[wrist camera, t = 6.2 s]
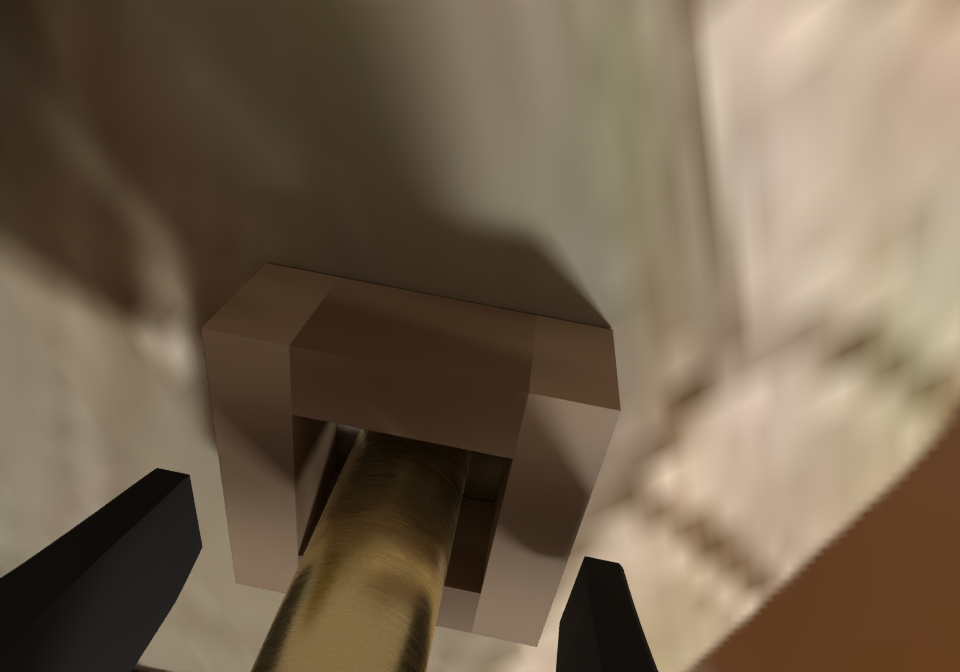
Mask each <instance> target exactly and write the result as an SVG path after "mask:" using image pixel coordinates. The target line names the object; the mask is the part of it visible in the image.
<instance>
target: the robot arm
mask: <svg viewBox="0 0 960 672" xmlns="http://www.w3.org/2000/svg"><path fill="white" fill-rule="evenodd" d="M201 549H202V542H201V537H200V531H199V525H198V520H197V514H196V508H195V503H194V497H193V491H192V486H191V480H190V475H188V474H184V473H179V472H174V471H169V470H164V469H159V468H156V469H155V470H153V471H152V472H150V473H149V474H148V475H146V476H145V477H143V478H142V479H141V480H139V481H138V482H136V483H135V484H134V485H132V486H131V487H129V488H128V489H127V490H125V491H124V492H123V493H121V494H120V495H118V496H117V497H116V498H114V499H113V500H112V501H110V502H109V503H108V504H106V505H105V506H103V507H102V508H101V509H99V510H98V511H96V512H95V513H94V514H92V515H91V516H90V517H88V518H87V519H85V520H84V521H83V522H81V523H80V524H78V525H77V526H76V527H74V528H73V529H71V530H70V531H69V532H67V533H66V534H64V535H63V536H61V537H60V538H59V539H57V540H56V541H54V542H53V543H51V544H50V545H49V546H47V547H46V548H44V549H43V550H41V551H40V552H39V553H37V554H36V555H34V556H33V557H31V558H30V559H28V560H27V561H26V562H24V563H23V564H21V565H20V566H18V567H17V568H15V569H14V570H12V571H11V572H9V573H8V574H6V575H5V576H3V577H1V578H0V672H131V671H132V670H133V668H134V666H135V665H136V663H137V662H138V660H139V659H140V657H141V656H142V654H143V652H144V651H145V649H146V648H147V646H148V645H149V643H150V642H151V640H152V638H153V637H154V635H155V634H156V632H157V631H158V629H159V627H160V626H161V624H162V623H163V621H164V620H165V618H166V616H167V615H168V613H169V612H170V610H171V608H172V607H173V605H174V603H175V602H176V600H177V598H178V596H179V594H180V592H181V590H182V588H183V586H184V584H185V582H186V580H187V578H188V576H189V574H190V572H191V570H192V568H193V566H194V564H195V562H196V559H197V557H198V555H199V553H200V551H201ZM556 672H658V670H657V667H656V665H655V662H654V659H653V657H652V654H651V651H650V649H649V646H648V643H647V640H646V638H645V635H644V632H643V629H642V626H641V624H640V621H639V618H638V615H637V612H636V609H635V606H634V603H633V599H632V596H631V593H630V590H629V587H628V583H627V580H626V576H625V573H624V569H623V568H622V566H621V565H620V564H619V563H615V562H610V561H605V560H600V559H596V558H591V557H586V556H585V557H584V560H583V562H582V565H581V567H580V570H579V573H578V575H577V578H576V581H575V583H574V586H573V589H572V591H571V594H570V597H569V599H568V602H567V604H566V607H565V610H564V612H563V615H562V618H561V620H560V625H559V638H558V650H557V664H556Z"/></svg>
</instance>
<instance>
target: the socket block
mask: <svg viewBox="0 0 960 672" xmlns="http://www.w3.org/2000/svg"><path fill="white" fill-rule="evenodd" d="M201 332H202V339H203V347H204V354H205V361H206V369H207V376H208V383H209V391H210V398H211V405H212V413H213V420H214V427H215V435H216V442H217V449H218V457H219V464H220V471H221V479H222V486H223V493H224V501H225V508H226V515H227V523H228V530H229V537H230V545H231V552H232V560H233V567H234V574H235V582H236V583H238V584H243V585H248V586H252V587H257V588H262V589H266V590H271V591H276V592H281V593H285V594H286V592H287V590H288V588H289V586H290V583H291V581H292V579H293V577H294V575H295V572H296V570H297V568H298V566H299V564H300V561H301V559H302V557H303V555H304V552H305V550H306V548H307V546H308V544H309V541H310V539H311V537H312V535H313V533H314V530H315V528H316V526H317V524H318V522H319V519H320V517H321V515H322V513H323V511H324V508H325V506H326V504H327V502H328V500H329V497H330V495H331V493H332V491H333V489H334V486H335V484H336V482H337V480H338V478H339V475H340V473H341V472H338V471H337V424H341V425H346V426H351V427H356V428H361V429H366V430H371V431H376V432H381V433H386V434H391V435H396V436H401V437H406V438H411V439H416V440H421V441H426V442H431V443H436V444H441V445H446V446H451V447H456V448H461V449H466V450H471V451H476V452H480V453H485V454H490V455H495V456H500V457H505V458H504V463H503V467H502V472H501V476H500V480H499V485H498V489H497V493H496V498H495V502H494V503H489V502H484V501H480V500H475V499H470V498H465V497H462V502H461V507H460V511H459V516H458V521H457V526H456V531H455V536H454V540H453V545H452V550H451V555H450V560H449V564H448V569H447V574H446V579H445V584H444V589H443V593H442V598H441V603H440V608H439V613H438V617H437V622H436V626H441V627H445V628H450V629H455V630H460V631H464V632H469V633H474V634H478V635H483V636H488V637H493V638H497V639H502V640H507V641H511V642H516V643H521V644H525V645H530V646H535V647H537V645H538V642H539V639H540V637H541V634H542V631H543V628H544V625H545V623H546V620H547V617H548V614H549V611H550V609H551V606H552V603H553V600H554V597H555V594H556V592H557V589H558V586H559V583H560V580H561V578H562V575H563V572H564V569H565V566H566V563H567V561H568V558H569V555H570V552H571V549H572V547H573V544H574V541H575V538H576V535H577V533H578V530H579V527H580V524H581V521H582V518H583V516H584V513H585V510H586V507H587V504H588V502H589V499H590V496H591V493H592V490H593V487H594V485H595V482H596V479H597V476H598V473H599V471H600V468H601V465H602V462H603V459H604V457H605V454H606V451H607V448H608V445H609V442H610V440H611V437H612V434H613V431H614V428H615V426H616V423H617V420H618V417H619V414H620V411H621V409H620V399H619V389H618V379H617V369H616V359H615V349H614V339H613V330H611V329H606V328H601V327H595V326H590V325H585V324H580V323H575V322H569V321H564V320H559V319H554V318H549V317H543V316H538V315H533V314H528V313H523V312H517V311H512V310H507V309H502V308H497V307H491V306H486V305H481V304H476V303H471V302H465V301H460V300H455V299H450V298H445V297H440V296H434V295H429V294H424V293H419V292H414V291H408V290H403V289H398V288H393V287H388V286H382V285H377V284H372V283H367V282H362V281H356V280H351V279H346V278H341V277H336V276H330V275H325V274H320V273H315V272H310V271H304V270H299V269H294V268H289V267H284V266H278V265H273V264H268V263H266V264H265V265H264V266H263V267H262V268H261V269H260V270H259V271H258V272H257V273H256V274H255V275H254V276H253V277H252V278H251V279H250V280H249V281H248V282H247V283H246V284H245V285H244V286H243V287H242V288H241V289H240V290H239V291H238V292H237V293H236V294H235V295H234V296H233V297H232V298H231V299H230V300H229V301H228V302H227V303H226V304H225V305H224V306H223V307H222V308H221V309H220V310H219V311H218V312H217V313H216V314H215V315H214V316H213V317H212V318H211V319H210V320H209V321H208V322H207V323H206V324H205V325H204V326H203V327H202V328H201Z"/></svg>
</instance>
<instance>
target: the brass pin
mask: <svg viewBox="0 0 960 672" xmlns="http://www.w3.org/2000/svg"><path fill="white" fill-rule="evenodd" d="M471 454H472V451H471V450H466V449H461V448H456V447H451V446H446V445H441V444H436V443H431V442H426V441H421V440H416V439H411V438H406V437H401V436H396V435H391V434H386V433H381V432H376V431H371V430H366V429H360V431H359V433H358V436H357V438H356V440H355V442H354V444H353V447H352V449H351V451H350V453H349V455H348V458H347V460H346V462H345V464H344V467H343V469H342V471H341V473H340V475H339V478H338V480H337V482H336V484H335V486H334V489H333V491H332V493H331V495H330V497H329V500H328V502H327V504H326V506H325V508H324V511H323V513H322V515H321V517H320V519H319V522H318V524H317V526H316V528H315V530H314V533H313V535H312V537H311V539H310V541H309V544H308V546H307V548H306V550H305V552H304V555H303V557H302V559H301V561H300V564H299V566H298V568H297V570H296V572H295V575H294V577H293V579H292V581H291V583H290V586H289V588H288V590H287V592H286V594H285V597H284V599H283V601H282V603H281V605H280V608H279V610H278V612H277V614H276V616H275V619H274V621H273V623H272V625H271V627H270V630H269V632H268V634H267V636H266V638H265V641H264V643H263V645H262V647H261V649H260V652H259V654H258V656H257V658H256V661H255V663H254V665H253V667H252V669H251V672H426V671H427V666H428V661H429V656H430V651H431V646H432V642H433V637H434V632H435V627H436V622H437V617H438V613H439V608H440V603H441V598H442V593H443V589H444V584H445V579H446V574H447V569H448V564H449V560H450V555H451V550H452V545H453V540H454V536H455V531H456V526H457V521H458V516H459V511H460V507H461V502H462V497H463V492H464V487H465V482H466V478H467V473H468V468H469V463H470V458H471Z"/></svg>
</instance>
